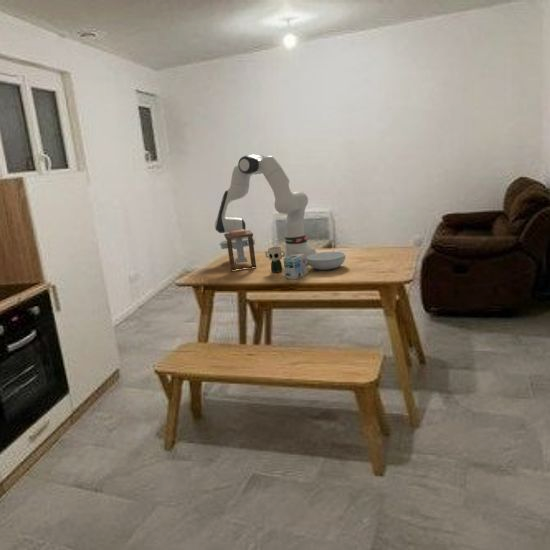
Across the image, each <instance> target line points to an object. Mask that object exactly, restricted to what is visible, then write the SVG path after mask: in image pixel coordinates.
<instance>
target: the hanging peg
mask: <svg viewBox="0 0 550 550" xmlns="http://www.w3.org/2000/svg"><path fill="white" fill-rule="evenodd" d="M246 231H247V230H246V229H245V230H244V229H240V230H233V231H230V234H231V235H238V234H246ZM235 241H236V248H237V249H236V254H237V258H235V263H236V264H243V263H247V262H248V258H247V257H245V251H244V247H243V242H242V238H236V239H235Z"/></svg>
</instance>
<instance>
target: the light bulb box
mask: <svg viewBox="0 0 550 550" xmlns="http://www.w3.org/2000/svg"><path fill="white" fill-rule="evenodd" d="M282 258H283V267H284V276H285V279H287V278H288V279H289V280H297V279H299V278H301V277H304V276H306V275H307V274H308V272H307V264H306V259H305V254H293V255H290V256H288V257H282Z"/></svg>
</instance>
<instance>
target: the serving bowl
mask: <svg viewBox="0 0 550 550" xmlns="http://www.w3.org/2000/svg"><path fill="white" fill-rule="evenodd" d="M306 260H307V263H308V264H307V265H308V266H310V268H313V269H315V270H319V271H328V270H329V271H331V270H333V269H335V268H339V267H340V266H342V265H343V264H344V262H345V260H346V253H345V252H343V251H342V252H341V251H325V252H316V254H312V255H309V256H307V257H306Z"/></svg>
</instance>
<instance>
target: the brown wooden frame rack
mask: <svg viewBox="0 0 550 550" xmlns="http://www.w3.org/2000/svg"><path fill="white" fill-rule="evenodd" d="M245 231H246V234H238V235H231V234H230V233H223V235H224V238H225V241H227V246H228V248H227V251H228V258H229V259H228V260H229V266H230V271H231V270H236V269H243V268H252V267H256V268H257V262H256V254H255V247H254V246H255V245H253V238H254V232H252V231H251V230H250V229H248V230H245ZM243 237H248V243H249V246H248V250H249V256H250V257H249V259H250V265H247V266H240V267H236V265H235V257H234V249H233V248H232V241H231V239H236V238H243Z"/></svg>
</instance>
